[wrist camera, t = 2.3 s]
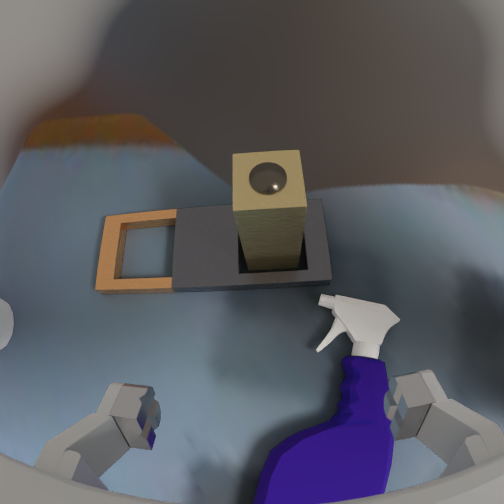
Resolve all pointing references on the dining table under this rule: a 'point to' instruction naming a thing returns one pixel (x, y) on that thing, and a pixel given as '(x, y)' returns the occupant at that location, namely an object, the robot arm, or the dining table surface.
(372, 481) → the purple flat blob
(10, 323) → the foam cup
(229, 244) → the peg insertion board
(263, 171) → the tan square peg
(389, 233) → the dining table surface
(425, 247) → the dining table surface
